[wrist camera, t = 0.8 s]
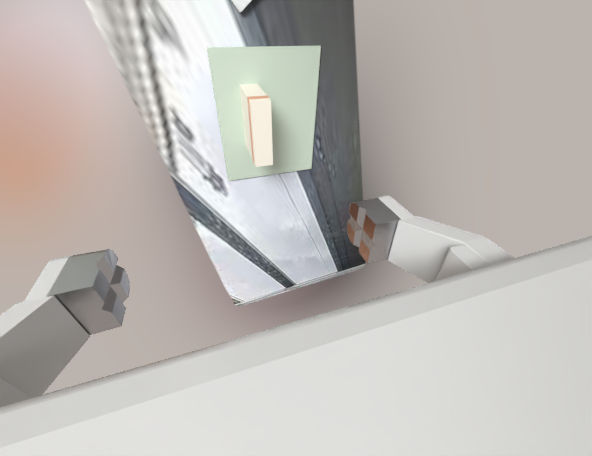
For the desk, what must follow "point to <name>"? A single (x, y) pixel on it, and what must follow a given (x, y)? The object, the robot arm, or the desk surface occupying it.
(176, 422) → the robot arm
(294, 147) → the mat
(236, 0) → the external hard drive
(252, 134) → the card box
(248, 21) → the desk surface
